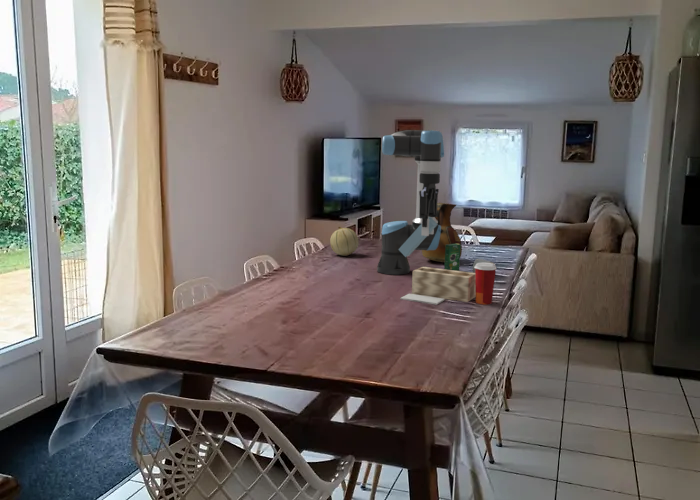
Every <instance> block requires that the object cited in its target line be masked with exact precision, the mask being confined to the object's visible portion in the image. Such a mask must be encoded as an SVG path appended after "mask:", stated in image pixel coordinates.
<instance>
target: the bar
mask: <svg viewBox="0 0 700 500" xmlns="http://www.w3.org/2000/svg"><path fill="white" fill-rule="evenodd" d="M428 219H429V233H430V232H431V231H432V230H433V229H434V228H435V227H436V226H437V225H438V224H437V223H436V222H435V221H434V220H433V219H432V218H431V217H428ZM421 231H422V224H421V225H420V226H419V227H418V228H417V229H416V230H415V231H414V233H413V234H412V235H411V236H410V237H409V238H408V239H407V240H406V242H405V243H404V244H403V245H402V246H401V247H400V248H399V249H398V250H399V251H400V252H401V253H402V254H403V255H404V256H405V257H407V258H408V257H409V256H411V255H412V254H413V253H414V251H416V250H415V249H416V248H417V247H418V246H419V244H420V243H421V242H422V241H423V240H424V239H425V238H426V237H427V236H422V235H421Z"/></svg>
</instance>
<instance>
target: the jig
mask: <svg viewBox="0 0 700 500" xmlns="http://www.w3.org/2000/svg"><path fill="white" fill-rule="evenodd" d="M411 280H412V281H411V294H416V295H423V296H429V297H436V298H443V299H445V300H451V301H456V300H457V301H456V302H464V303H468V302H470V301H471V300H473V299H476V285H475V273H473V272H472V271H471V272H469V271H462V270H459V271H454V270H446V269H444V268H437V267H429V266H421V267H418V268H416V269H414V270H412V278H411Z"/></svg>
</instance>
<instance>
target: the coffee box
mask: <svg viewBox="0 0 700 500" xmlns="http://www.w3.org/2000/svg"><path fill="white" fill-rule="evenodd" d="M461 244H462V243H461ZM461 244H447V245H446V247H445V262H444V268H443V269H446V270H454V271H460V263H461V257H460V248H461Z"/></svg>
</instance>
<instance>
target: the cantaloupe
mask: <svg viewBox="0 0 700 500" xmlns="http://www.w3.org/2000/svg"><path fill="white" fill-rule="evenodd" d="M358 237H359V236H358V235H357V234H356V232H355V231H354V230H353V229H351V228H349V227H342V226H338V229H336V230H334V232H332V234H331V236H330V239H329V240H330V241H329V242H330V248H331V250H332V251H333V252H334V253H335V254H336V255H338V256H343V257H347V256H349V255H351V254H353V253H355V252H356V251H357V249H358V247H359V238H358Z"/></svg>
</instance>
